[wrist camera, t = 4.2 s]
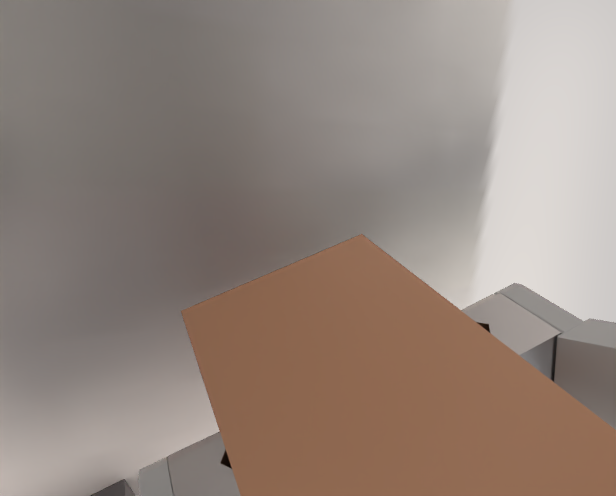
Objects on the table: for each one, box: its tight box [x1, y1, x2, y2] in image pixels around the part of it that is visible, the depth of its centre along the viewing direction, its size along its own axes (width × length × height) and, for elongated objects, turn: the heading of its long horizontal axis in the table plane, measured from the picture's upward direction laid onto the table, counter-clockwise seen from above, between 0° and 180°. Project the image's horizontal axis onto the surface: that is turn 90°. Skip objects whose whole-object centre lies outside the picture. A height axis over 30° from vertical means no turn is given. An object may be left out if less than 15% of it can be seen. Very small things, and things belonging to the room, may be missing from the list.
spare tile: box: [181, 234, 616, 496], centre depth 9 cm, size 2×5×9 cm, turn 104°
